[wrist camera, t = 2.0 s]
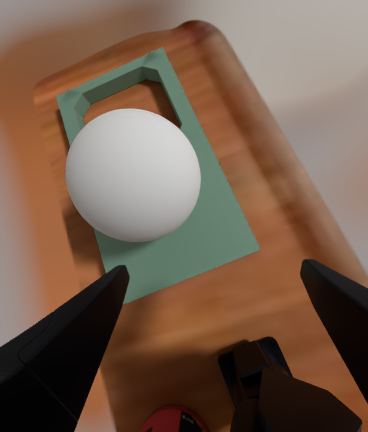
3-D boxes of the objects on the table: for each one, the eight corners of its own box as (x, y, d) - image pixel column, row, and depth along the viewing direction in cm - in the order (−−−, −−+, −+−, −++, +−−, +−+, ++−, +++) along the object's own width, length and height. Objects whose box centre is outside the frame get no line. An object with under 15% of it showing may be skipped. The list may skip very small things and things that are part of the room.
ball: (217, 221, 20) (231, 190, 9) (128, 258, 20) (40, 269, 10) (181, 141, 22) (158, 41, 11) (102, 176, 23) (8, 110, 12)
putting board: (255, 249, 21) (260, 249, 19) (123, 302, 21) (115, 307, 19) (165, 60, 27) (161, 45, 25) (66, 105, 28) (55, 95, 26)
